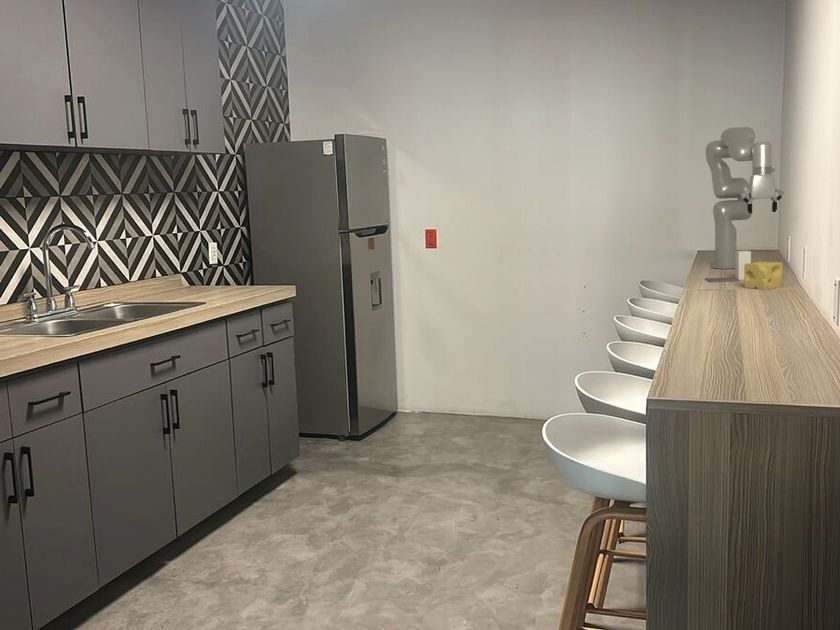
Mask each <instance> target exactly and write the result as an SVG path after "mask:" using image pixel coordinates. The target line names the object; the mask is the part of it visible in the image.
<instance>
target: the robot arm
mask: <svg viewBox="0 0 840 630" xmlns="http://www.w3.org/2000/svg"><path fill="white" fill-rule="evenodd" d="M755 140H756V133H755V130H754V129H753V128H752V127H750V126H742V127H741V126H740V127H738V126H737V127H730V128H726V129H724V130H723V131H722V133H721V135H720V140H714V141H711V142H709V143H708V144H707V145H706V147H705V158H706V162H707V165H708V166H709V170H710V173H711V182H712V188H713V195H714V197H716V198H717V199H721V200H720V201H717V202H716V203H715V204H714V205H713V208H712V213H713V219H714V233H715V237H714V238H715V239H714V257H715V258H714V264H711V268H712V269H720V270H721V269H723V270H725V269H726V270H727V269H730V270H731V269H732V270H733V269H736V251H737V241H738V240H737V239H738V238H737V235H738V234H737V228H736V226H735V225H734V224H733V221H744V220H746V221H747V220H749V219H751V217H752V215H753V203H752V202H753V201H754V200H760V199H765V200H766V199H770V200H772V203H771V211H772V213H776V212H777V211H778V202H779V201H780V200H781V199H782V197H783V195H784V193H785V192H784V191H783V190H781V189H778V188H777V187H776V182H775V177H774V174H773V173H774V172H776V168H775V167H773V165H772V163H773V162H772V160H773V158H772V155H773V154H772V143H771V142H769V141H759V142H755ZM723 159H732V160H734V161H736V162H752V163H751V165H752V170H751V172H752V175H750V177H749V180H747V179H746V178H744V177H732V174H731V168H730V166H729V165H728V163H726V161H724V160H723ZM748 181H749V182H748ZM776 193H777V194H778V196H776ZM722 199H725V200H722ZM726 199H729V200H726Z"/></svg>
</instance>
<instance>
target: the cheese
mask: <svg viewBox="0 0 840 630" xmlns="http://www.w3.org/2000/svg"><path fill="white" fill-rule="evenodd" d="M783 273H784V272H783V262H780V261H779V262H778V261H776V262H775V261H773V262H772V261H756V262H751V263H746V264H745V266H744V280H743V283H744V288H747V289H757V290H761V291H765V290H771V289H778V288H779V287H780V288H781V286H782V282H783V275H784V274H783Z"/></svg>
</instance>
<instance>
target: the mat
mask: <svg viewBox="0 0 840 630" xmlns="http://www.w3.org/2000/svg"><path fill="white" fill-rule="evenodd" d="M704 280H705V281H707V282H709V283H725V282H726V283H727V282H730V283H731V282H740V280H738V279H736V278H735V277H734V276H731V277H730V276H729V277H728V276H727V277H706V278H704Z"/></svg>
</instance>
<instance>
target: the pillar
mask: <svg viewBox="0 0 840 630" xmlns="http://www.w3.org/2000/svg"><path fill="white" fill-rule="evenodd" d="M746 263H752V251H750V250H736V268H735V277H734V278H736V279H738V280H739V281H744V266H745V264H746Z"/></svg>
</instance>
